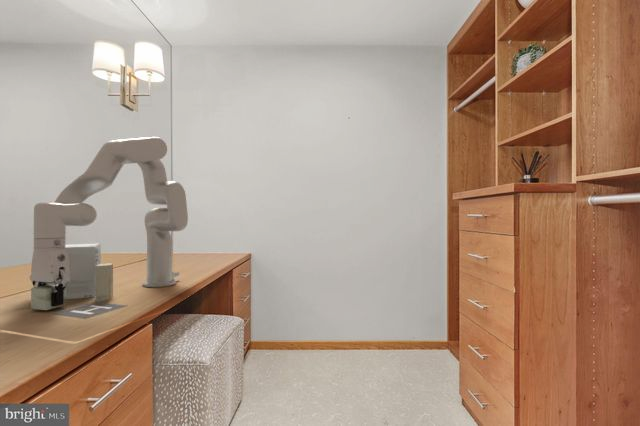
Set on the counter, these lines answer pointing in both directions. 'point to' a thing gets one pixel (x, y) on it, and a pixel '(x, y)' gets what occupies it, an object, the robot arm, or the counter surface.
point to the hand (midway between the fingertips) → (49, 303)
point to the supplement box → (82, 269)
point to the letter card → (90, 310)
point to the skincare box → (104, 282)
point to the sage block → (44, 297)
